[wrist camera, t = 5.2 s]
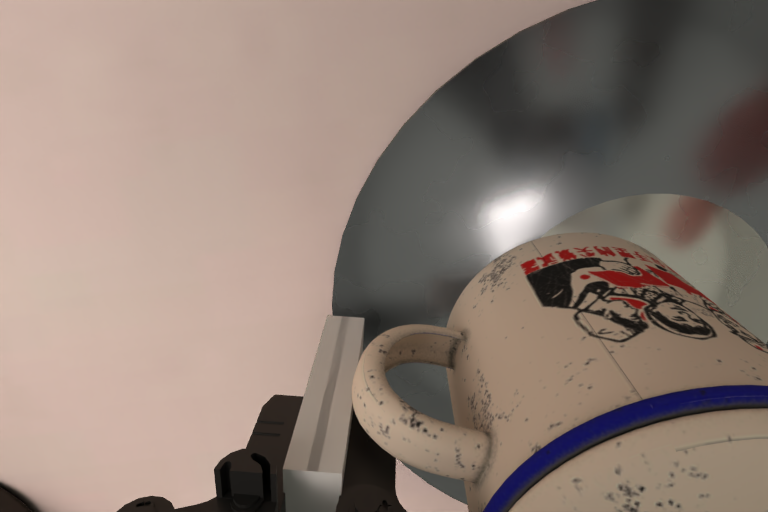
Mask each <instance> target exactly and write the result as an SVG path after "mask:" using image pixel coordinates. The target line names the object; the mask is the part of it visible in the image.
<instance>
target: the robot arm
mask: <svg viewBox="0 0 768 512" xmlns="http://www.w3.org/2000/svg"><path fill="white" fill-rule="evenodd" d="M363 337H364V318H358V317H345V316H331V315H328V316H327V319H326V322H325V326H324V329H323V333H322V336H321V339H320V343H319V346H318V350H317V353H316V357H315V360H314V363H313V367H312V370H311V374H310V377H309V381H308V384H307V387H306V391H305V394H304V397H300V396H286V395H274V396H273V397H272V398H271V399H270V400H269V401H268V402H267V403H266V404H265V405H264V406H263V407H262V410H261V412H260V415H259V417H258V420H257V423H256V425H255V427H254V430H253V433H252V435H251V437H250V440H249V442H248V444H247V447H246V449H241V450H238V451H235V452H232V453H230V454H229V455H227V456H226V457H224V458H223V459H222V460H220V462H219V463H218V464H217V466H216V467H215V469H214V474H215V484H216V494H217V497H215V498H213V499H211V500H209V501H207V502H204V503H200V504H197V505H192V506H188V507H183V508H178V509H174V507H173V505H172V503H171V502H170V501H168V500H167V499H165V498H163V497H156V496H149V497H143V498H138V499H136V500H134V501H132V502H130V503H128V504H126V505H124V506H123V507H122V508H121V509H120V510H118V511H117V512H407V511H406V510H405V509H404V508H403V507H402V505H401V504H400V503H399V501H398V498H397V496H396V490H395V468H396V458H395V457H393V456H392V455H391V454H389V453H388V452H386V451H385V450H384V449H383V448H381V447H380V446H379V445H378V444H377V443H376V442H375V441H374V440H373V439H372V438H371V437H370V436H369V435H368V434H367V433H366V431H365V430H364V429H363V427H362V426H361V424H360V423H359V421H358V419H357V417H356V414H355V411H354V408H353V403H352V383H353V378H354V375H355V371H356V368H357V365H358V363H359V360H360V358H361V356H362V354H363Z"/></svg>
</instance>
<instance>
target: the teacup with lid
mask: <svg viewBox="0 0 768 512" xmlns="http://www.w3.org/2000/svg"><path fill="white" fill-rule="evenodd" d="M406 363H424V364H431V365H437V366H442V367H446V371H447V377H448V384H449V390H450V396H451V403H452V409H453V415H454V422H455V425H453V424H450V423H446V422H443V421H440V420H437V419H434V418H432V417H429V416H427V415H425V414H423V413H421V412H419V411H417V410H416V409H414V408H413V407H411V406H410V405H408V404H407V403H406V402H405V401H403V400H402V399H401V398H400V397H399V396H398V395H397V394H396V393H395V392H394V391H393V389H392V388H391V387H390V385H389V383H388V381H387V379H386V375H385V373H386V372H387V371H389V370H390V369H392V368H394V367H396V366H398V365H402V364H406ZM352 403H353V408H354V411H355V414H356V417H357V419H358V421H359V423H360V424H361V426H362V427H363V429H364V430H365V431H366V433H367V434H368V435H369V436H370V437H371V438H372V439H373V440H374V441H375V442H376V443H377V444H378V445H379V446H380V447H381V448H383V449H384V450H385V451H386V452H388V453H389V454H391V455H392V456H393V457H395V458H397V459H398V460H400V461H402V462H404V463H406V464H408V465H410V466H412V467H415V468H417V469H420V470H423V471H426V472H429V473H433V474H436V475H440V476H444V477H449V478H453V479H458V480H463V481H464V485H465V491H466V497H467V504H468V510H469V512H768V346H767V345H766V344H765V343H763V342H762V341H761V340H760V339H758V338H757V337H756V336H755V335H754V334H752V333H751V332H750V331H749V330H747V329H746V328H745V327H744V326H742V325H741V324H740V323H739V322H737V321H736V320H735V319H734V318H732V317H731V316H730V315H729V314H727V313H726V312H725V311H724V310H722V309H721V308H720V307H719V306H717V305H716V304H715V303H714V302H712V301H711V300H710V299H709V298H707V297H706V296H705V295H704V294H702V293H701V292H700V291H699V290H697V289H696V288H695V287H694V286H692V285H691V284H690V283H689V282H687V281H686V280H685V279H684V278H683V277H681V276H680V275H679V274H678V273H676V272H675V271H674V270H673V269H671V268H670V267H669V266H668V265H666V264H665V263H664V262H663V261H661V260H660V259H659V258H658V257H656V256H655V255H654V254H652V253H651V252H649V251H648V250H646V249H644V248H643V247H640V246H638V245H636V244H634V243H632V242H630V241H627V240H624V239H622V238H618V237H614V236H610V235H605V234H599V233H585V232H579V233H564V234H556V235H551V236H547V237H542V238H539V239H536V240H533V241H530V242H527V243H525V244H522V245H520V246H517V247H515V248H513V249H511V250H510V251H508V252H506V253H504V254H503V255H501V256H499V257H498V258H496V259H495V260H494V261H492V262H491V263H490V264H488V265H487V266H486V267H485V268H483V269H482V270H481V271H480V272H479V273H478V274H477V275H476V276H475V277H474V278H473V279H472V280H471V281H470V283H469V284H468V285H467V286H466V288H465V289H464V290H463V292H462V293H461V295H460V296H459V298H458V300H457V301H456V303H455V305H454V307H453V309H452V311H451V314H450V317H449V320H448V323H447V327H446V328H444V327H439V326H432V325H423V324H410V325H403V326H398V327H395V328H392V329H390V330H387V331H385V332H384V333H382V334H380V335H379V336H377V337H376V338H375V339H374V340H373V341H372V342H371V343H370V344H369V345H368V346H367V348H366V349H365V350H364V352H363V354H362V356H361V358H360V360H359V363H358V365H357V368H356V371H355V375H354V378H353V383H352Z"/></svg>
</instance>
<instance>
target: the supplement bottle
mask: <svg viewBox="0 0 768 512" xmlns="http://www.w3.org/2000/svg"><path fill="white" fill-rule="evenodd" d="M0 512H31V510H30V509H29V508H28V507H27V506H26V505H25V504H24V503H23V502H22V501H20V500H19V499H18V498H17V497H15V496H14V495H12V494H11V493H9V492H8V491H6V490H4V489H2V488H0Z"/></svg>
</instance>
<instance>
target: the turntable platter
mask: <svg viewBox="0 0 768 512" xmlns="http://www.w3.org/2000/svg"><path fill="white" fill-rule="evenodd" d="M579 232H585V233H599V234H605V235H610V236H614V237H618V238H622V239H624V240H627V241H630V242H632V243H634V244H636V245H638V246H640V247H643V248H644V249H646V250H648V251H649V252H651V253H652V254H654V255H655V256H656V257H658V258H659V259H660V260H661V261H663V262H664V263H665V264H666V265H668V266H669V267H670V268H671V269H673V270H674V271H675V272H676V273H678V274H679V275H680V276H681V277H683V278H684V279H685V280H686V281H687V282H689V283H690V284H691V285H692V286H694V287H695V288H696V289H697V290H699V291H700V292H701V293H702V294H704V295H705V296H706V297H707V298H709V299H710V300H711V301H712V302H714V303H715V304H716V305H717V306H719V307H720V308H721V309H722V310H724V311H725V312H726V313H727V314H729V315H730V316H731V317H732V318H734V319H735V320H736V321H737V322H739V323H740V324H741V325H742V326H744V327H745V328H746V329H747V330H749V331H750V332H751V333H752V334H754V335H755V336H756V337H757V338H758V339H760V340H761V341H762V342H763V343H765V344H766V345H767V346H768V0H597V1H594V2H591V3H587V4H584V5H581V6H578V7H574V8H571V9H568V10H566V11H564V12H561V13H559V14H557V15H555V16H553V17H551V18H548V19H546V20H544V21H542V22H540V23H537V24H535V25H533V26H531V27H529V28H526V29H524V30H522V31H520V32H518V33H517V34H515V35H513V36H512V37H510V38H508V39H507V40H505V41H504V42H502V43H500V44H499V45H497V46H496V47H494V48H492V49H491V50H489V51H487V52H486V53H484V54H483V55H481V56H479V57H478V58H476V59H475V60H473V61H472V62H471V63H470V64H469V65H467V66H466V67H465V68H464V69H462V70H461V71H460V72H459V73H457V74H456V75H455V76H454V77H452V78H451V79H450V80H449V81H448V82H446V83H445V84H444V85H443V86H441V87H440V88H439V89H438V90H436V91H435V92H434V94H433V95H432V96H431V97H430V98H429V99H428V100H427V101H426V102H425V103H424V104H423V105H422V106H421V107H420V108H419V109H418V110H417V111H416V112H415V113H414V114H413V115H412V116H411V118H410V119H409V120H408V121H407V122H406V123H405V124H404V125H403V126H402V128H401V129H400V130H399V132H398V133H397V134H396V136H395V137H394V139H393V140H392V141H391V143H390V144H389V145H388V147H387V148H386V149H385V151H384V152H383V153H382V155H381V156H380V157H379V159H378V160H377V162H376V164H375V166H374V168H373V169H372V171H371V173H370V175H369V177H368V178H367V180H366V182H365V184H364V186H363V188H362V189H361V191H360V193H359V195H358V197H357V199H356V202H355V204H354V207H353V210H352V212H351V215H350V218H349V220H348V223H347V225H346V228H345V231H344V233H343V237H342V241H341V245H340V250H339V254H338V259H337V263H336V267H335V274H334V287H333V300H332V311H333V316H345V317H358V318H364V337H363V352H364V350H365V349H366V348H367V346H368V345H369V344H370V343H371V342H372V341H373V340H374V339H375V338H376V337H377V336H379V335H380V334H382V333H384V332H385V331H387V330H390V329H392V328H395V327H398V326H403V325H410V324H423V325H432V326H439V327H444V328H446V327H447V323H448V320H449V317H450V314H451V311H452V309H453V307H454V305H455V303H456V301H457V300H458V298H459V296H460V295H461V293H462V292H463V290H464V289H465V288H466V286H467V285H468V284H469V283H470V281H471V280H472V279H473V278H474V277H475V276H476V275H477V274H478V273H479V272H480V271H481V270H482V269H483V268H485V267H486V266H487V265H488V264H490V263H491V262H492V261H494V260H495V259H496V258H498V257H499V256H501V255H503V254H504V253H506V252H508V251H510V250H511V249H513V248H515V247H517V246H520V245H522V244H525V243H527V242H530V241H533V240H536V239H539V238H542V237H547V236H551V235H556V234H564V233H579ZM385 375H386V379H387V381H388V383H389V385H390V387H391V388H392V389H393V391H394V392H395V393H396V394H397V395H398V396H399V397H400V398H401V399H402V400H403V401H405V402H406V403H407V404H408V405H410V406H411V407H413V408H414V409H416V410H417V411H419V412H421V413H423V414H425V415H427V416H429V417H432V418H434V419H437V420H440V421H443V422H446V423H450V424H453V425H455V422H454V415H453V409H452V403H451V396H450V390H449V384H448V377H447V371H446V367H442V366H437V365H431V364H424V363H406V364H402V365H398V366H396V367H394V368H392V369H390V370H389V371H387V372H386V373H385ZM401 462H402V461H401ZM402 463H403V464H404V465H405V466H406V467H408V468H409V469H410V470H411V471H413V472H414V473H415V474H417V475H418V476H419V477H421V478H422V479H423V480H424V481H426V482H427V483H428V484H430V485H432V486H433V487H435V488H437V489H439V490H440V491H442V492H444V493H445V494H447V495H449V496H450V497H452V498H454V499H456V500H458V501H460V502H463V503H465V504H467V497H466V491H465V485H464V481H463V480H458V479H453V478H449V477H444V476H440V475H436V474H433V473H429V472H426V471H423V470H420V469H417V468H415V467H412V466H410V465H408V464H406V463H404V462H402ZM467 505H468V504H467Z"/></svg>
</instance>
